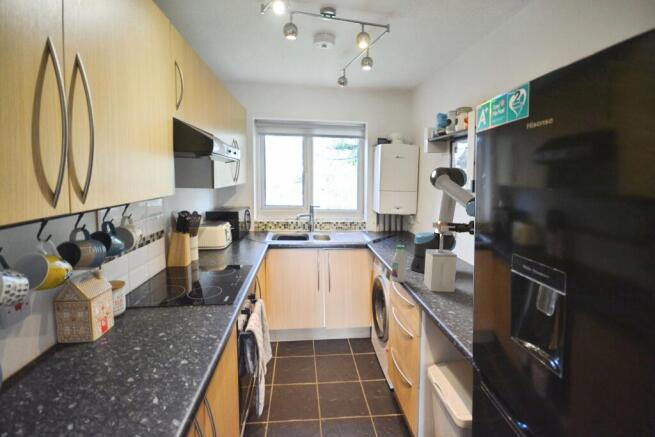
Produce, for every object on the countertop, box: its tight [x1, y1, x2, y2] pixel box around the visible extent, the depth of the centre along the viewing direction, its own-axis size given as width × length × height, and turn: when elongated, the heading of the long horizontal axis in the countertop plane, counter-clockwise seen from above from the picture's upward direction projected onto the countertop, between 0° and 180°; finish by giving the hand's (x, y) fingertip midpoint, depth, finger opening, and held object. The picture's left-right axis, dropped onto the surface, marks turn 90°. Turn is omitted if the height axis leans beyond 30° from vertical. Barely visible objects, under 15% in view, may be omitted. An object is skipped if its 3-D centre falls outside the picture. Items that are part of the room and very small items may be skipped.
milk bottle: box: [391, 244, 407, 283], centre depth 179 cm, size 8×8×20 cm
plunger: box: [438, 221, 447, 253], centre depth 167 cm, size 7×7×26 cm
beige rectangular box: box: [423, 249, 458, 293], centre depth 167 cm, size 16×12×19 cm
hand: (436, 226), depth 166 cm, fingers open, 13 cm apart
